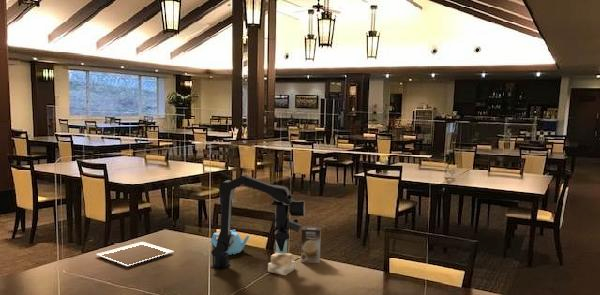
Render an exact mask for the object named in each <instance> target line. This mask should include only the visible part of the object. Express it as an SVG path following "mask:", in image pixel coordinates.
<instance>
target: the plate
mask: <svg viewBox="0 0 600 295" xmlns="http://www.w3.org/2000/svg"><path fill="white" fill-rule="evenodd" d="M139 245H144V246H148V247H151V248H155V249H158V250H160V251H163V252H166V253H165V254H162V255H158V256H155V257H152V258H149V259H145V260H142V261H139V262H136V263H133V264H129V265H127V264H124V263H122V262H119V261H116V260H113V259H111V258H108V257H105V256H102V255H104V254H109V253H114V252H117V251H120V250H125V249H128V248H132V247H136V246H139ZM174 252H175V251H174V250H172V249H168V248H165V247H162V246H158V245H155V244H152V243H149V242H145V241H139V242H135V243H131V244H128V245H124V246H121V247H117V248H114V249H109V250H106V251H101V252H99V253H98V252H97V253H96V254H95V255H96V256H98V257H100V258H103V259H107V260H109V261H111V262H114V263H116V262H117V264H119V265H122V266H125V267H132V266H135V265H134V264H136V265H138V264H137V263H139V264H142V263H145V262H148V261H150V260H151V259H152V260H154V258H155V259H158V258H160V256H161V257H164V256H167V255H170V254H172V253H174ZM163 255H164V256H163ZM157 257H158V258H157ZM147 260H148V261H147ZM144 261H145V262H144ZM141 262H142V263H141ZM131 265H132V266H131Z"/></svg>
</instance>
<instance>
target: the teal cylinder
mask: <svg viewBox="0 0 600 295" xmlns="http://www.w3.org/2000/svg"><path fill="white" fill-rule="evenodd" d="M275 253H288V239H287V240H285V244H284V248H283V251H280V249H279V247H278V244H277V242H276V241H275Z"/></svg>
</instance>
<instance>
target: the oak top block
mask: <svg viewBox="0 0 600 295" xmlns="http://www.w3.org/2000/svg"><path fill="white" fill-rule="evenodd" d="M292 261H293V254H292V253H290V252H286V253H277V252H275V253H273V254H272V255H270V262H271V263H272V264H277V265H282V266H285V265H287V264H289V263H290V262H292Z"/></svg>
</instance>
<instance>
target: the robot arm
mask: <svg viewBox="0 0 600 295" xmlns="http://www.w3.org/2000/svg"><path fill="white" fill-rule="evenodd" d="M242 185H244V186H246V187H249V188H251V189H255V190H257V191H260V192H263V193H265V194H268V195H269V196H270V197H271V198H273V201H272V203H271V204H270V206H275V217H274V218H275V220H274V221H275V222H274V240H275V243H276V242H277V244H278V247H279V249H280V251H283V248H284V244H285V240H287V241H288V240H289V239H290V232H289V231H290V230H291V231H294V232H296V233H299V232H300V230H301V228H302V224H301V223H300V222H299V220H298V218H294V219H290V217H289V214H290V215H291V216H293V217H305V216H306V205H305V204H306V203H305V200H295V199H294V198H293V197H292V194H290V190H289V188H288V187H287V186H286V185H285V186H283V185H279V184H272V183H271V184H270V183H268V182H265V181H262V180H260V179H257V178H254V177H252V176H249V175H247V174H245V173H243V174H242V175H239V177H237V178H234V179H233V180H231V179H227V180H225V181H223V182H222V183H220V184H219V187H218V192H219V197H220V200H221V210H220V212H221V213H220V229H219V230H220V232H219V233H218V234H219V237H217V239H216V241H217V244H216V247H215V246H214V248H213V249H212V250H211V255H212V265H210V267H211V268H214V269H220V270H224V269H225V268H227V267H229V266H231V264H230V262H229V259H230V258H229V255H228V253H227V251H228V249H229V248H230V247H231V246H232V244H233V243H234V234H231V232H230V230H231V220H232V219H231V218H232V202H233V201H232V200H233V197H234V195H235V191H236V189H237V188H239V187H240V186H242Z"/></svg>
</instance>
